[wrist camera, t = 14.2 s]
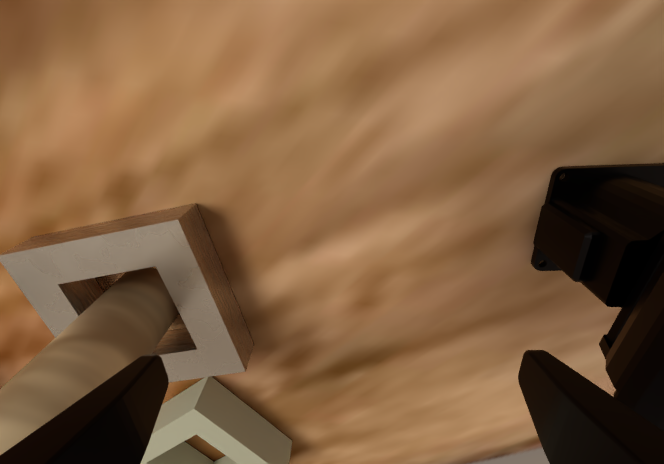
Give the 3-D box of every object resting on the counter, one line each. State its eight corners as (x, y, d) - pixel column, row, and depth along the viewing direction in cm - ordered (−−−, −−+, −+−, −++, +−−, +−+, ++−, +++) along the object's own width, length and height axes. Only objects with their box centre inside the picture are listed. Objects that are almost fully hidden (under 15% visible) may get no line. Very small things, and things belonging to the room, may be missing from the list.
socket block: (196, 203, 21) (177, 219, 19) (254, 344, 26) (245, 371, 23) (31, 237, 22) (-4, 256, 20) (116, 365, 27) (95, 392, 25)
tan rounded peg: (167, 262, 23) (-21, 467, 11) (193, 315, 25) (55, 539, 13) (107, 273, 23) (-136, 480, 11) (136, 324, 25) (-46, 548, 13)
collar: (209, 374, 27) (194, 408, 24) (292, 440, 30) (287, 477, 27) (131, 423, 30) (110, 459, 27) (214, 479, 33) (203, 516, 30)
